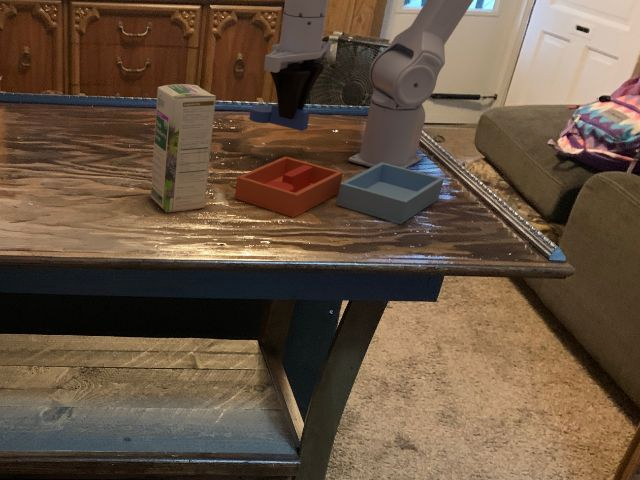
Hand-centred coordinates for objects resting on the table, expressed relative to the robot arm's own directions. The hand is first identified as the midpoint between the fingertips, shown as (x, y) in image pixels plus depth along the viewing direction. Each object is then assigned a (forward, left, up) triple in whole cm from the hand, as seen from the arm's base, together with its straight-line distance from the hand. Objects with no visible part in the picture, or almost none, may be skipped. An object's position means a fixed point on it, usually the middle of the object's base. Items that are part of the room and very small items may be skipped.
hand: (289, 116), depth 111 cm
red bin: (+11, +8, -7) cm, 15 cm away
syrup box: (+24, -1, -7) cm, 25 cm away
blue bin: (+3, +19, -7) cm, 20 cm away
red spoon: (+11, +8, -7) cm, 15 cm away
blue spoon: (0, -2, -1) cm, 2 cm away
